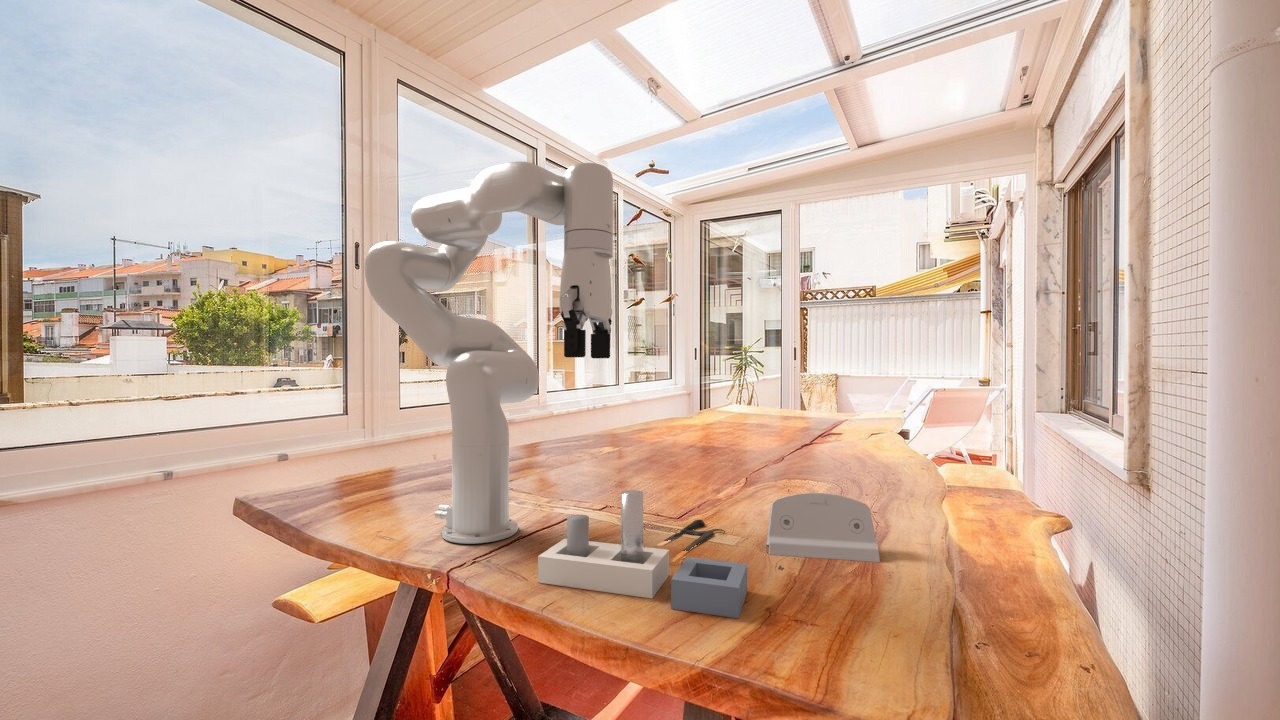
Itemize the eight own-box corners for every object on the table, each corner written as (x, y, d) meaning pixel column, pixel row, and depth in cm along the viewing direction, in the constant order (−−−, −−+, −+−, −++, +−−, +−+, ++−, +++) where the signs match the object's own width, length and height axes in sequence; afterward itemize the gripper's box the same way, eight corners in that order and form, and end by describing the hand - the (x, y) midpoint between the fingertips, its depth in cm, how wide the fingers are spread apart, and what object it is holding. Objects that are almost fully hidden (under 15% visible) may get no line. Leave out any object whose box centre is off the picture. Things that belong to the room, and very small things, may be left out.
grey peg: (617, 585, 72) (617, 494, 72) (625, 577, 75) (625, 489, 75) (639, 588, 71) (639, 496, 71) (646, 579, 74) (646, 491, 74)
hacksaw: (696, 525, 101) (696, 517, 101) (749, 534, 95) (749, 526, 95) (622, 565, 81) (622, 555, 81) (683, 580, 75) (683, 569, 75)
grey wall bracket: (766, 554, 84) (766, 488, 87) (766, 555, 88) (765, 492, 92) (882, 562, 81) (877, 493, 84) (876, 562, 85) (871, 497, 88)
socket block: (671, 608, 65) (671, 579, 65) (686, 583, 73) (686, 557, 73) (738, 618, 63) (738, 587, 63) (747, 591, 70) (747, 563, 70)
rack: (538, 582, 73) (538, 522, 73) (564, 562, 81) (564, 507, 81) (652, 598, 68) (652, 534, 68) (669, 575, 76) (669, 517, 76)
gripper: (588, 259, 94) (588, 358, 93) (539, 236, 77) (539, 357, 77) (629, 256, 91) (629, 358, 91) (588, 232, 75) (588, 356, 75)
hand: (588, 357), depth 84 cm, fingers open, 9 cm apart
